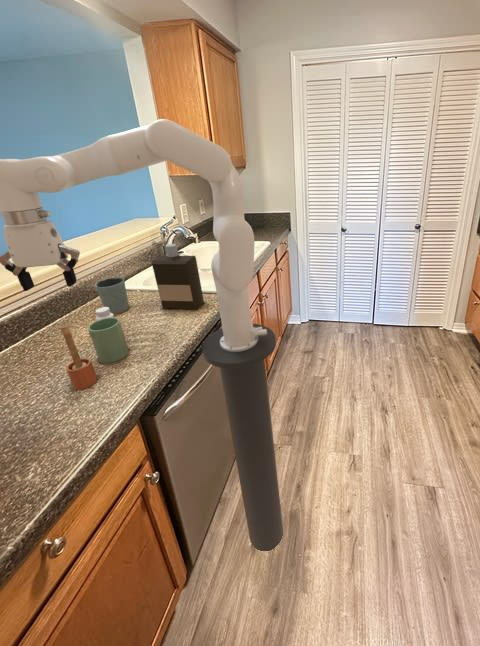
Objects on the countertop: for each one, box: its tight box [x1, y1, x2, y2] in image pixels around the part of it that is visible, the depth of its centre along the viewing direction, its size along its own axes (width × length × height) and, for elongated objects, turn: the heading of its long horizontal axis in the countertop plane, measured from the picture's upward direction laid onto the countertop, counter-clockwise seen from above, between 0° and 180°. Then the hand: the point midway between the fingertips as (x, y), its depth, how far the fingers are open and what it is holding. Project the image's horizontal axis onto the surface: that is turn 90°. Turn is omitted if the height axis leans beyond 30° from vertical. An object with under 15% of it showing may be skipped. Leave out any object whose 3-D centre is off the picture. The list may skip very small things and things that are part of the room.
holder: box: [65, 357, 98, 390], centre depth 87 cm, size 6×6×6 cm
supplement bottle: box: [95, 306, 115, 321], centre depth 109 cm, size 5×5×10 cm
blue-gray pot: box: [94, 276, 130, 315], centre depth 127 cm, size 10×10×12 cm
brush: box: [59, 324, 87, 370], centre depth 84 cm, size 3×3×17 cm
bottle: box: [150, 243, 205, 310], centre depth 125 cm, size 8×16×25 cm, turn 82°
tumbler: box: [87, 316, 130, 364], centre depth 97 cm, size 8×8×11 cm
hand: (51, 286), depth 80 cm, fingers open, 9 cm apart
